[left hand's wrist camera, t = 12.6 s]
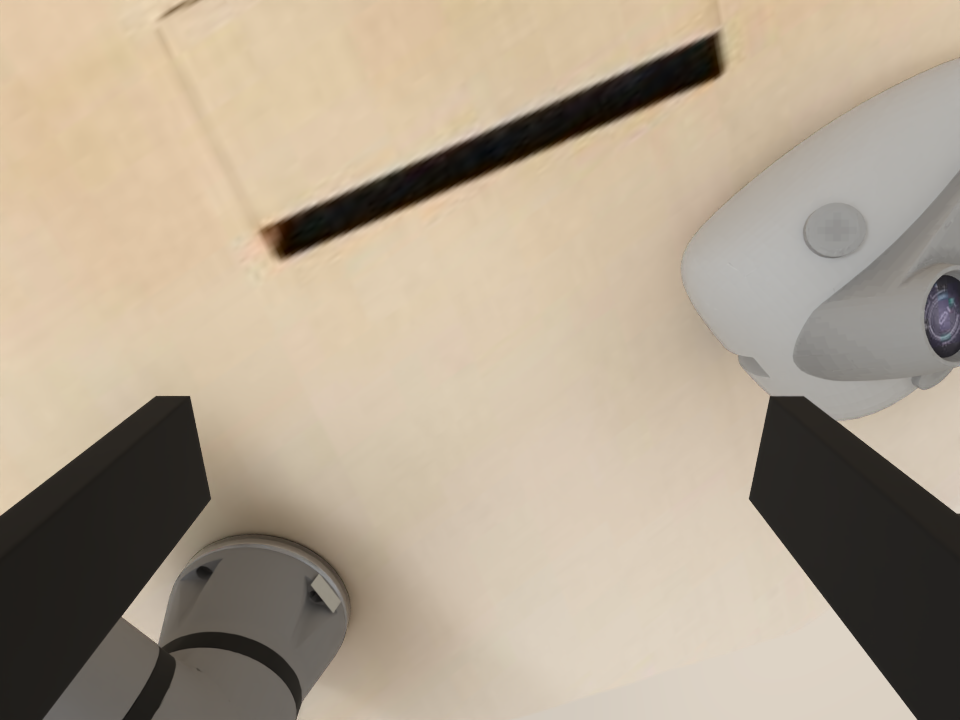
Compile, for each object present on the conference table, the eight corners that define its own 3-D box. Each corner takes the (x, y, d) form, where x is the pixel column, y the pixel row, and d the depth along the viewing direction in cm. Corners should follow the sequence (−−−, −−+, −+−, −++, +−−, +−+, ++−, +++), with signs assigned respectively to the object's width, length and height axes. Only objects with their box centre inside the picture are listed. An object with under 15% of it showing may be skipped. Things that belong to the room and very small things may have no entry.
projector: (955, 380, 42) (1183, 492, 29) (653, 392, 43) (735, 508, 29) (1050, 50, 34) (1427, -13, 21) (677, 68, 35) (806, 18, 21)
